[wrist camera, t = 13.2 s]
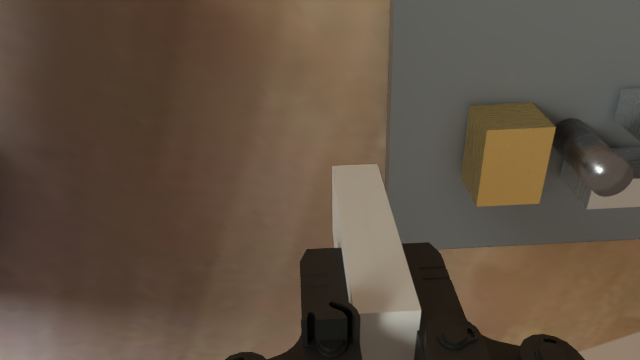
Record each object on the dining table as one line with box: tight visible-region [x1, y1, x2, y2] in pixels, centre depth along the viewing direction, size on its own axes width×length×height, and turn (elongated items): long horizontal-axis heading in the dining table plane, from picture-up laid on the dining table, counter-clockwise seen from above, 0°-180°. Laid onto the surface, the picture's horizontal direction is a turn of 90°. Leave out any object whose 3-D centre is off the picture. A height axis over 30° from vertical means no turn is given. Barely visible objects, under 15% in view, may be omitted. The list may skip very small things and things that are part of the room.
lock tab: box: [461, 102, 556, 207], centre depth 25 cm, size 3×4×3 cm
